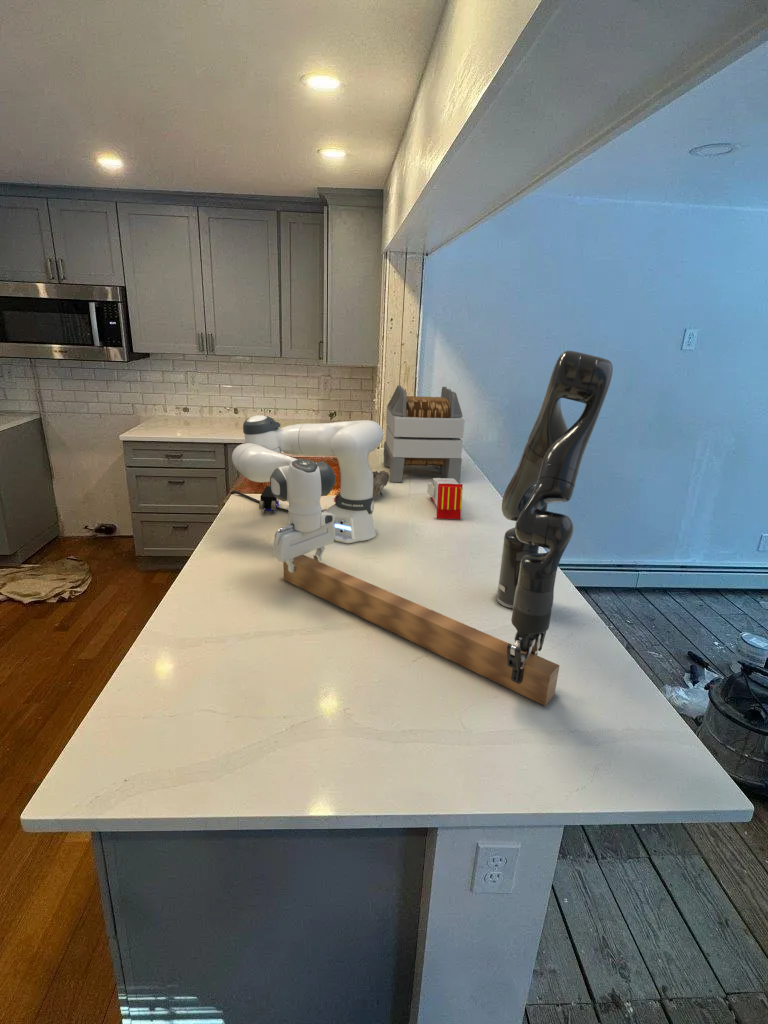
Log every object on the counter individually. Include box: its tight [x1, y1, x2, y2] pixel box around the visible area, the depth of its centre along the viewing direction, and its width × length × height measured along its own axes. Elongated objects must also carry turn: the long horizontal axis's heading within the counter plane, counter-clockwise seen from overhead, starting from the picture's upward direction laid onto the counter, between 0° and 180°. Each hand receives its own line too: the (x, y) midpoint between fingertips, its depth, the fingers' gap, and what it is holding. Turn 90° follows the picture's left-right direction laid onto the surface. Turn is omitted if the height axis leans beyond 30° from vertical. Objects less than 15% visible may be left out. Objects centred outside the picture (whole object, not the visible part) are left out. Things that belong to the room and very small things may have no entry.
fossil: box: [372, 470, 390, 498], centre depth 238 cm, size 22×10×15 cm
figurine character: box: [258, 485, 280, 515], centre depth 216 cm, size 7×8×15 cm
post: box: [282, 554, 560, 707], centre depth 140 cm, size 81×4×8 cm, turn 50°
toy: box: [427, 477, 464, 520], centre depth 227 cm, size 12×13×30 cm
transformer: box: [383, 384, 465, 484], centre depth 268 cm, size 34×33×41 cm
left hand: (305, 566), depth 159 cm, fingers open, 8 cm apart
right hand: (522, 675), depth 120 cm, fingers closed on post, 4 cm apart
